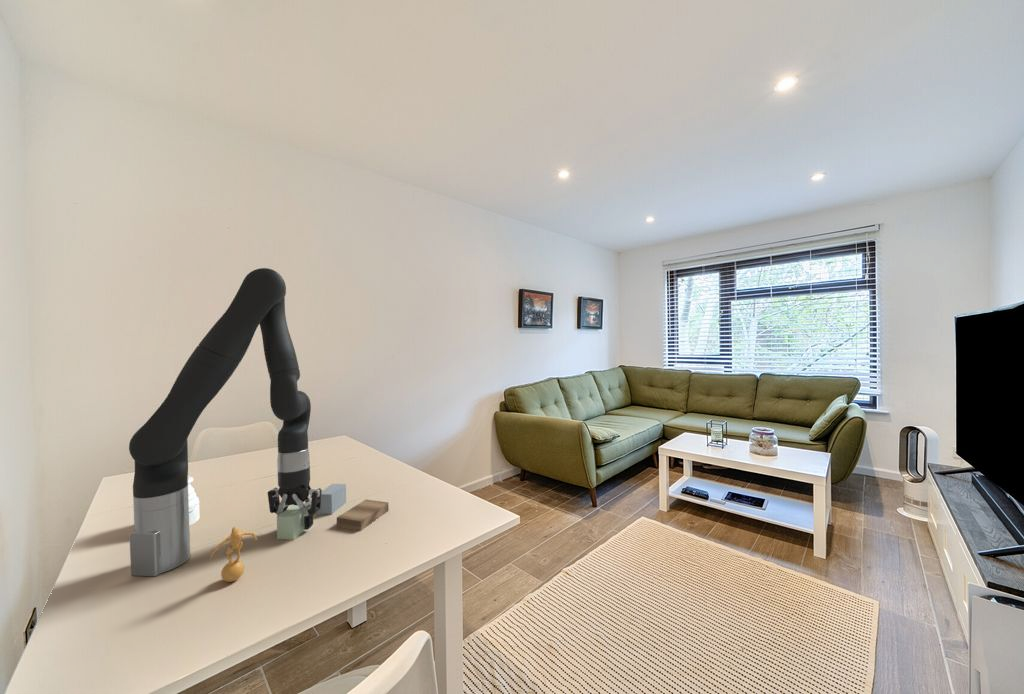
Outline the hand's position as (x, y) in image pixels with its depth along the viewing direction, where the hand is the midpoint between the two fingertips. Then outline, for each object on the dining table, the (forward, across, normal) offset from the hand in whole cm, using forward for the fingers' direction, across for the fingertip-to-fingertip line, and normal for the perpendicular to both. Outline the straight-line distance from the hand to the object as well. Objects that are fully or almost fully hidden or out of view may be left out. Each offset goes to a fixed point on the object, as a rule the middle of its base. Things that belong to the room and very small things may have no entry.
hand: (295, 527), depth 101 cm
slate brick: (+1, +2, +14) cm, 14 cm away
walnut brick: (+1, +15, +8) cm, 17 cm away
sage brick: (+1, 0, 0) cm, 1 cm away
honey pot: (+1, -39, +2) cm, 39 cm away
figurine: (+1, +1, -21) cm, 21 cm away
